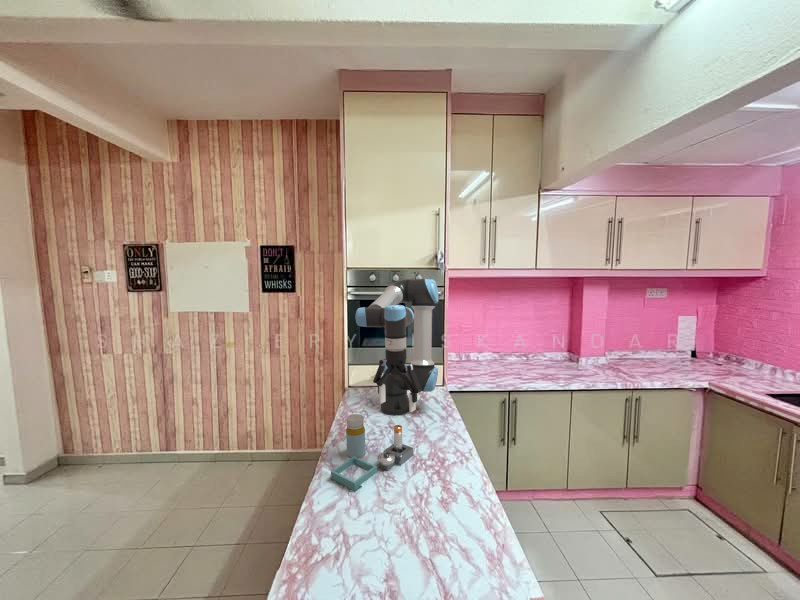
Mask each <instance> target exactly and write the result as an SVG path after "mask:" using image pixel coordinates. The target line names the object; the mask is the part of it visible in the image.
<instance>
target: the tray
mask: <svg viewBox="0 0 800 600" xmlns="http://www.w3.org/2000/svg"><path fill="white" fill-rule="evenodd" d="M353 465H356V466H358V467H361V468H363V469H364V470H367V471H366V472H365V473H363V474H362V475H360V476H359V477H358V478H356V479H355V480H353V479H351V478H349V477H347V476H345V475H343V474H341V473H343V472H344V471H346V470H347V469H348V468H350V467H351V466H353ZM377 473H378V466H377V465H374V464H372V463H370V462H368V461H366V460H363V459H361V458H356V457H352V458H349V459H348V460H346V461H345V462H343V463H342V464H340V465H339V466H336V467H335V468H334V469H332V470H331V471H330V479H331V481H333V482H334V483H336V484H339V485H340V486H343V487H344V488H346V489H348V490H350V491H351V492H354V493H356V492H357V491H358V490H360V489H361V488H362V487H363V486H362V484H364V483H365V482H366V481H368V480H369V479H371V477H373V476H375V475H376V474H377Z"/></svg>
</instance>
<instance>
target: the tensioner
mask: <svg viewBox="0 0 800 600" xmlns="http://www.w3.org/2000/svg"><path fill="white" fill-rule="evenodd" d="M402 449H403V451H402V452H401V453H400V454H399V453H397V452H394V443H392V444H391V445H390V446H388V447H387V448H386V449H383V452H381V453H379V454H378V455H377V462H378V468H381V469H383V470H385V471H386V472H388V471H390V470H391V469H392V468H393V467H395V466H396V465H398V466H400V467H401V466H403V464H405V463H406V462H408V460H410V459H411V458H412V457H413V456H414V447H412V446H409V445H407V444H405V443H402Z"/></svg>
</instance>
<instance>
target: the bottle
mask: <svg viewBox="0 0 800 600" xmlns="http://www.w3.org/2000/svg"><path fill="white" fill-rule="evenodd" d="M364 422H365V421H364V416H363V414H360V413H359V414H358V413H355V414H350V415H348V416H347V417H346V430H345V436H346V437H345V438H346V440H345V441H346V456H347V457H348V458H349V459H351V458H352V457H356V458H359V459H361V458H363V457H365V456H366V454H367V451H366V450H367V449H366V447H367V446H366V428H365V426H364Z"/></svg>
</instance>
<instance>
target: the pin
mask: <svg viewBox="0 0 800 600" xmlns="http://www.w3.org/2000/svg"><path fill="white" fill-rule="evenodd" d="M393 444H394V452H397V453H399V454H400V453H401V452H402V451H403V449H402V444H403V426H402V425H400V424H395V425H394V426H393Z"/></svg>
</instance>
